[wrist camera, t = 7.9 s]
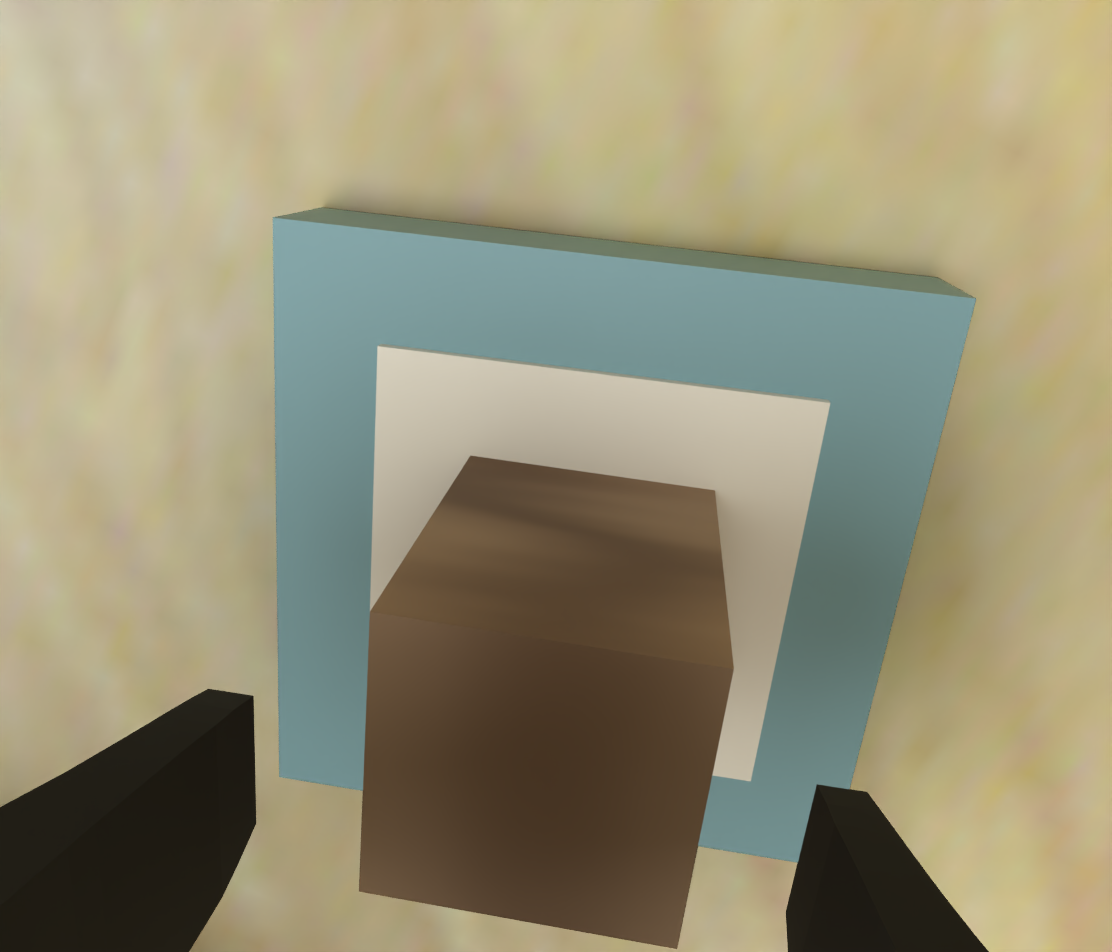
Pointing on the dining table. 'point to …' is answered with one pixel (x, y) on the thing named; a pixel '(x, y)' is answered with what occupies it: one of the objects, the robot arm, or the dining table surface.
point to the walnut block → (548, 701)
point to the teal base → (610, 457)
